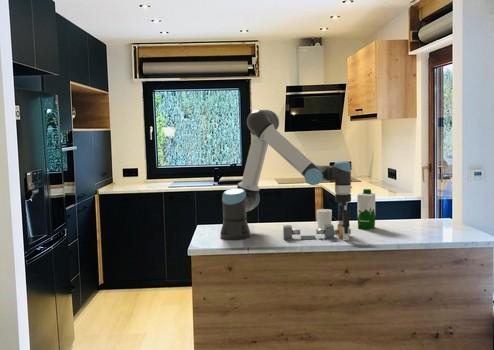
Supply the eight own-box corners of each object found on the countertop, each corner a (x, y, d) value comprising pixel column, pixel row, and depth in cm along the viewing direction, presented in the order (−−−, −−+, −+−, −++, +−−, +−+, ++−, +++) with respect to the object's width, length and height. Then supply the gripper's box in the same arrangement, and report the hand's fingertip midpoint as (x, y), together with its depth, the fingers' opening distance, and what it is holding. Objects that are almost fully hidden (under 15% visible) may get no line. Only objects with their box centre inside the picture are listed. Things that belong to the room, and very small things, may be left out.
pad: (301, 239, 232) (301, 239, 232) (300, 236, 239) (300, 235, 239) (316, 239, 231) (316, 238, 231) (314, 236, 238) (314, 235, 238)
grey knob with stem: (317, 238, 232) (316, 226, 232) (316, 236, 237) (315, 224, 237) (333, 238, 232) (333, 226, 231) (332, 236, 237) (332, 224, 236)
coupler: (337, 238, 232) (337, 226, 231) (336, 236, 237) (335, 224, 236) (351, 238, 232) (351, 226, 231) (349, 236, 236) (349, 224, 236)
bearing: (283, 239, 233) (283, 227, 232) (283, 237, 238) (283, 225, 237) (300, 239, 233) (300, 227, 232) (299, 236, 238) (299, 224, 237)
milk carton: (376, 226, 255) (376, 189, 253) (372, 230, 247) (372, 191, 245) (360, 225, 259) (360, 188, 257) (355, 229, 251) (355, 191, 249)
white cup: (331, 230, 249) (331, 211, 248) (316, 230, 250) (316, 211, 249) (332, 227, 256) (332, 209, 255) (317, 227, 258) (317, 209, 257)
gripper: (355, 197, 219) (356, 242, 221) (346, 189, 244) (347, 231, 246) (339, 197, 220) (339, 243, 222) (331, 190, 245) (332, 231, 247)
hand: (343, 236), depth 234 cm, fingers open, 13 cm apart
